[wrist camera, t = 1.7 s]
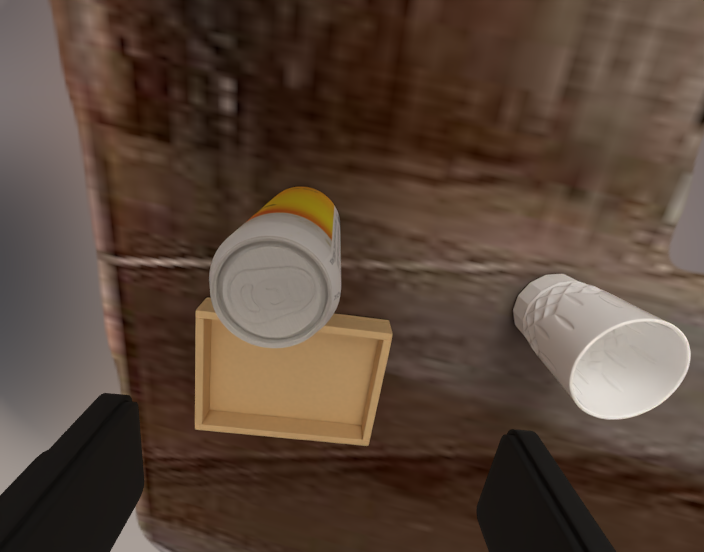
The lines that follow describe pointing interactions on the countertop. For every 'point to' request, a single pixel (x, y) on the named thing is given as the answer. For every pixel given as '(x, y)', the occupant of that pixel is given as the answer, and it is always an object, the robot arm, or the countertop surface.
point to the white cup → (601, 346)
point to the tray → (291, 380)
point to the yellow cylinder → (280, 271)
